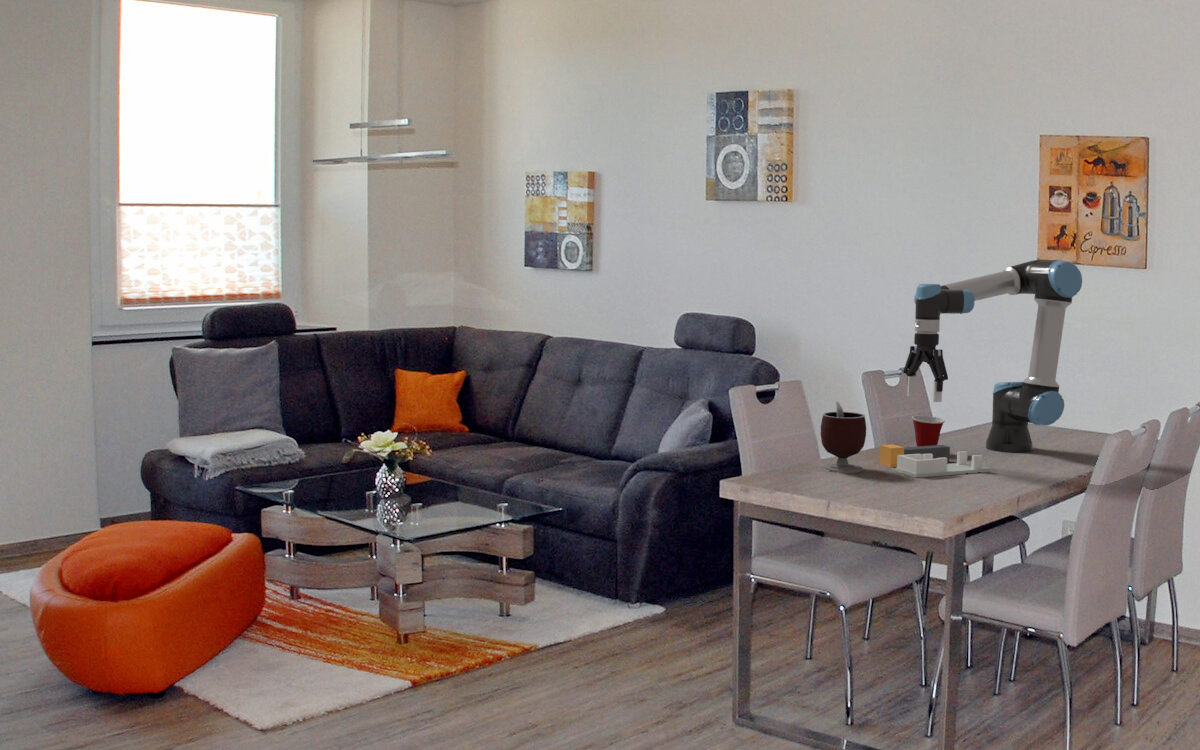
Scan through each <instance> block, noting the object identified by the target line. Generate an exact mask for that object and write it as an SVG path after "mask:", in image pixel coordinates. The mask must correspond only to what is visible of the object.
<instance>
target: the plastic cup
mask: <svg viewBox="0 0 1200 750" xmlns="http://www.w3.org/2000/svg"><path fill="white" fill-rule="evenodd" d="M911 418H912V423H913V427H914V428H913V429H914V436H915V444H916V447H918V446H933V445H939V439H940V436H941V432H942V431H941V430H942V427H943V426H944V423H945V422H946V421H945V419H943V418H941V417H937V416H929V415H913V416H911Z"/></svg>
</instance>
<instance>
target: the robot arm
mask: <svg viewBox="0 0 1200 750" xmlns="http://www.w3.org/2000/svg"><path fill="white" fill-rule="evenodd" d="M1082 286H1083V275H1082V272H1081V271H1080V269H1079V268H1078V266H1077V265H1076V264H1075V263H1073V262H1072V261H1071V262H1070V261H1066V260H1062V259H1055V260H1054V259H1053V260H1052V259H1050V260H1048V259H1045V260H1044V259H1034V260H1030V261H1026V262H1022V263H1019V264H1015V265H1011V266H1007V267H1005V268H1004V269H1003V270H1002V271H999V272H995V273H992V274H986V275H982V276H978V277H974V278H969V279H965V280H960V281H955V282H952V283H947V284H943V285H941V284H939V283H919V284H917V287H916V292H915V294H914V298H913V300H914V304H915V315H914V316H915V318H914V319H915V320H914V331H915V333H914V337H913V339H914V341H913V343H914V345H910V347H909V354H908V356H907V360H906V362H905V364H904V365H905V366H904V368H903V370H902V371H903V374H905V375H906V376H907V381H906V384H907V385H906V386H907V391H906V392H907V394H906V395H907V397H909V398H910V397H916V396H917V372H918V370H919V369H920V367H921V365H922V364H923V363H926V364H927V365H928V366H929V369H930V370H931V373H932V375H933V378H934V380H933V389H932V390H933V391H932V392H933V393H932V403H941V402H942V399H943V398H942V397H943V396H942V395H943V390H944V388H943V387H944V381H947V380H949V376H948V372H947V368H946V364H945V360H944V354H943V353H944V352H943V349H941V348H940V349H937V348H936V347H937V346H938V345H939V344H940V343H939V341H940V334H939V332H940V322H941V320H940V319H941V314H953V315H955V314H957V315H958V314H960V315H962V314H969V313H971V311H973V309H974V307H975V302H977V301H981V300H986V299H989V298H993V297H998V296H1003V295H1006V294H1008V295H1009V296H1016V295H1021V294H1025V295H1034V299H1033V300H1034V301H1035V302H1036V304H1037V305H1038V306H1037V314H1036V318H1035V319H1036V320H1035V327H1034V334H1033V342H1032V347H1031V355H1030V362H1029V367H1028V368H1029V369H1028V376H1027V377H1026V378H1025V379H1024V380H1023V381H1006V382H1005V381H1004V382H1003V381H1001V382H997V383H994V386H993V391H992V417H991V419H992V421H991V427H990V430H989V432H988V436H987V438H986V441H985V448H986V449H989V450H993V451H998V452H1006V453H1008V452H1010V453H1017V452H1018V453H1022V452H1023V453H1024V452H1025V453H1026V452H1031V451H1033V441H1032V438H1031V434H1030V430H1029V423H1030V424H1033V425H1036V426H1050V425H1052V424H1055V422H1057V421H1058V420H1059V419H1060V418H1061V417H1062V415H1063V413H1064V410H1065V399H1063V396H1062V395H1061V393H1060V392H1059V391H1060V384H1058V382H1057V381H1056V379H1057V371H1058V366H1059V365H1058V364H1059V357H1060V350H1061V345H1062V336H1063V329H1064V323H1065V316H1066V309H1067V307H1069V306H1070V305H1072V301H1073V297H1075V296H1076V295H1078V293H1079V292H1080V291H1081V289H1082Z"/></svg>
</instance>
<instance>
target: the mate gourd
mask: <svg viewBox="0 0 1200 750" xmlns="http://www.w3.org/2000/svg"><path fill="white" fill-rule="evenodd" d="M835 404H836V405H835V406H836V411H827V412H823V413H822V418H821V423H820V439H821V440H820V441H821V444H822V446H823V448H824V450H825V451H826V452H827V453H829V454H831V455H833V456H835V457H836V458H837V460H836V463H826V464H824V465H822V466H821V468H822V467H823V468H824V469H826V470H829V471H828V472H830V471H834V472H833V473H837V472H840V474H853V473H854V474H855V473H860V472H863V466H860V465H858V464H852V463H849V460H848V458H850V457H852V456H854V455H858V454H859V453H860V452H861V451H862V450H863V448H864V446H865V443H866V437H867V422H866V417H865V416H866V415H865V414H863V413H860V412H854V411H853V412H850V411H844V410H843V407H842V406H841V404H840V402H839V401H836V402H835ZM826 470H825V471H826Z"/></svg>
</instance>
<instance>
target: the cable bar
mask: <svg viewBox="0 0 1200 750" xmlns="http://www.w3.org/2000/svg"><path fill="white" fill-rule="evenodd" d="M930 453H931V454H933V459H937V458H943V457H945V458H947V463H950V457H951V456H950V455H951V446H949V445H944V444H937V445H933V446H918V447H917V446H906V447H904V446H901V445H897V444H886V445H885V444H883V445H882V444H881V445H880V454H879V456H880V459H879V461H880V462H879V463H880V465H882V466H886V467H889V468H897V455H908V454H930Z"/></svg>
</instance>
